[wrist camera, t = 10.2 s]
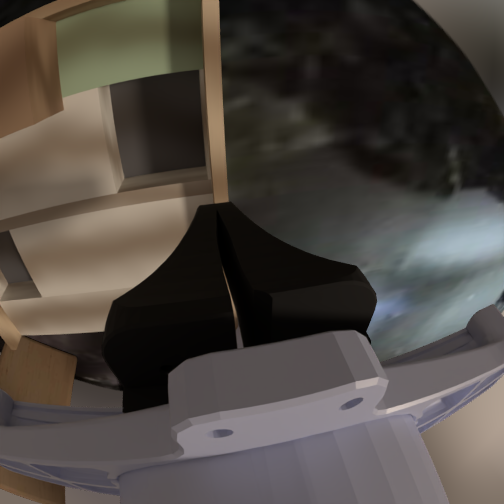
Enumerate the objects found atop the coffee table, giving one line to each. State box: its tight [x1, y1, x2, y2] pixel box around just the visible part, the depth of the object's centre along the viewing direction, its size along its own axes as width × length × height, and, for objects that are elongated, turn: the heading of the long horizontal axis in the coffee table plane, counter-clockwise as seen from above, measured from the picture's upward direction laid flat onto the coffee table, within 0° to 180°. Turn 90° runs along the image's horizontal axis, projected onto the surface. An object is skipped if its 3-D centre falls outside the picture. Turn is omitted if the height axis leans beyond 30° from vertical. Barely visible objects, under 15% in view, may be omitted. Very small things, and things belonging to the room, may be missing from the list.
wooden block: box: [0, 335, 77, 504], centre depth 22 cm, size 10×10×20 cm
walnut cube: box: [0, 16, 64, 138], centre depth 9 cm, size 6×6×4 cm
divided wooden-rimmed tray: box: [0, 0, 238, 350], centre depth 17 cm, size 26×24×5 cm
